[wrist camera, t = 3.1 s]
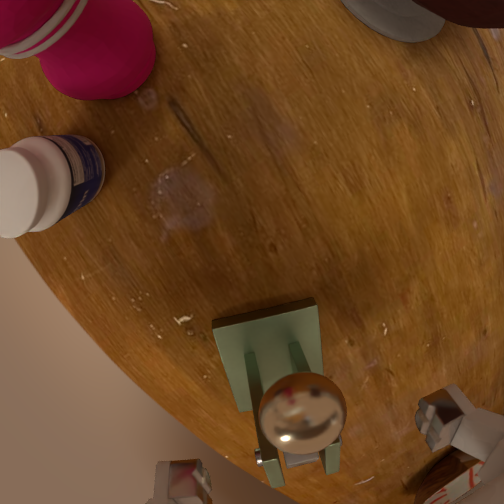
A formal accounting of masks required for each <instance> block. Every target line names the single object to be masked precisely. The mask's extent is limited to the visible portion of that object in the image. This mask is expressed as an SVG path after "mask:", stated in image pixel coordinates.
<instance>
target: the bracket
mask: <svg viewBox="0 0 504 504" xmlns="http://www.w3.org/2000/svg"><path fill="white" fill-rule="evenodd" d="M212 331H213V334H214V337H215V341H216V344H217V347H218V350H219V353H220V356H221V359H222V362H223V365H224V368H225V371H226V374H227V377H228V380H229V383H230V386H231V389H232V392H233V395H234V398H235V401H236V404H237V406H238V409H239V412H244V411H249V410H253V414H254V420H255V426H256V432H257V437H258V443H259V448H258V449H255V450H254V451H255V457H256V461H257V465H258V466H259V467H260V466H264V469H265V472H266V474H267V477H268V479H269V482H270V485H271V487H272V488H276V487H281V486H285V481H284V477H283V473H282V468H281V464H280V460H279V455H278V451H277V448H276V447H274V446H273V445H272V444H271V443H270V442H269V441H268V440H267V439H266V437H265V436H264V434H263V432H262V430H261V428H260V424H259V418H258V411H259V406H260V402H261V400H262V397H263V395H264V394H265V392H266V391H267V389H268V388H269V387H270V386H271V385H272V384H273V383H274V382H275V381H277V380H278V379H280V378H282V377H283V376H285V375H288V374H291V373H295V372H314V373H317V374H321V375H323V376H324V374H323V360H322V348H321V336H320V325H319V314H318V305H317V303H316V302H315V300H314V298H309V299H305V300H301V301H297V302H293V303H288V304H284V305H280V306H276V307H271V308H267V309H263V310H258V311H254V312H249V313H245V314H240V315H236V316H231V317H226V318H222V319H217V320H212ZM340 446H342V439H341V435H339V436H338V438H337V439H336V440H335V441H334V442H333V443H332V444H331V445H329V446H328V447H326V448H325V449H323V450H321V451H319V455H320V458H321V461H322V464H323V467H324V470H325V473H326V475H328V474H332V473H335V472H338V471H339V465H340Z"/></svg>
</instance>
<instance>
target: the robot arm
mask: <svg viewBox="0 0 504 504" xmlns="http://www.w3.org/2000/svg"><path fill="white" fill-rule="evenodd" d="M418 406H419V407H420V408H419V409H418V410H417V412H416V415H415V422H416V425H417V428H418V430H419V431H420V433H422V434H425V435H426V440H425V441H426V443H427V444H428V446H429V448H430V449H431V451H432V452H435V451H437V450H439V449H441V448H443V447H445V446H447V445H449V444H450V445H452V446H454V447H456V448H458V449H460V450H461V451H463V452H465V453H467V454H469V455H471V456H473V457H475V458H477V459H479V460H481V461H483V462H485V463H484V464H483V466H482V467H481V468H480V470H479V472H478V476H479V477H480V479H481V481H482V482H483V484H484V486H482V487H481V488H479V489H478V490H476V491H475V492H473V493H472V494H470V495H468V496H467V497H465V498H464V499H462V500H460V501H459V502H457V503H455V504H504V416H503V415H500V414H497V413H493V412H490V411H487V410H484V409H481V408H477V409H476V408H475V407H474V406H473V405H472V403H471V402H470V401H469V400H468V399H467V397H466V396H465V395H464V394H463V393H462V391H461V390H460V389H459V388H458V387H457V385H455V384H450V385H448V386H446V387H444V388H442V389H440V390H438V391H436V392H434V393H432V394H430V395H427V396H425V397H423V398H421V399H420V400H419V403H418ZM211 490H212V487H211V480H210V476H209V473H208V472H207V469H206V468H203V467H202V462H201V461H200V459H190V460H178V461H160V462H158V463H157V465H156V473H155V485H154V497H153V499H149V500H148V502H147V503H146V504H212V499H211V498H210V496H209V495H208V494H209V493H210V491H211Z"/></svg>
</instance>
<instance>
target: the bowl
mask: <svg viewBox="0 0 504 504" xmlns="http://www.w3.org/2000/svg"><path fill="white" fill-rule="evenodd" d="M484 463H485V462H483V461H481V460H479V459H477V458H475V457H473V456H471V455H469V454H467V453H465V452H463V451H461V450H460V449H458V450H456V451H454V452H453V453H451V454H450V455H448V456H447V457H445V458H444V459H443V460H441V461H440V462H439V463H438V464H436V465H435V466H434V467H433V468H432V469H431V471H430V472H429V473H428V475H427V476H426V478H425V480H424V481H423V483H422V484H421V486H420V487H419V490H418V492H417V494H416V497H415V501H414V504H450V503H452V502H453V501H455V500H457V499H458V498H459V497H461V496H463V495H464V494H465V493H467V492H468V491H470V490H471V489H472V488H474V487H475V486H476V485H477V484H478V483H479V482H481V479H480V477H479V476H478V472H479V470H480V468H481V467H482V466H483V464H484Z"/></svg>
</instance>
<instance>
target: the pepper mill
mask: <svg viewBox="0 0 504 504" xmlns="http://www.w3.org/2000/svg"><path fill="white" fill-rule="evenodd" d="M0 55H4V56H5V57H7V58H14V59H22V58H27V57H30V56H33V55H35V56H36V57H38V58H39V59H40V63H41V67H42V70H43V72H44V74H45V76H46V77H47V79H48V80H49V82H50V83H51V84H52V85H53V86H54V87H55V88H56V89H57V90H58V91H60V92H61V93H63V94H65V95H67V96H70V97H72V98H75V99H80V100H96V99H116V98H120V97H123V96H126V95H128V94H130V93H132V92H133V91H135V90H136V89H137V88H138V87H140V86H141V85H142V84H143V82H144V81H145V80H146V79H147V78H148V76H149V74H150V73H151V71H152V69H153V66H154V63H155V58H156V50H155V45H154V42H153V32H152V26H151V23H150V20H149V18H148V17H147V15H146V14H145V13H144V11H143V10H142V9H141V8H140V7H139V6H138V5H137V4H136V3H135V2H133V1H132V0H0Z"/></svg>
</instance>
